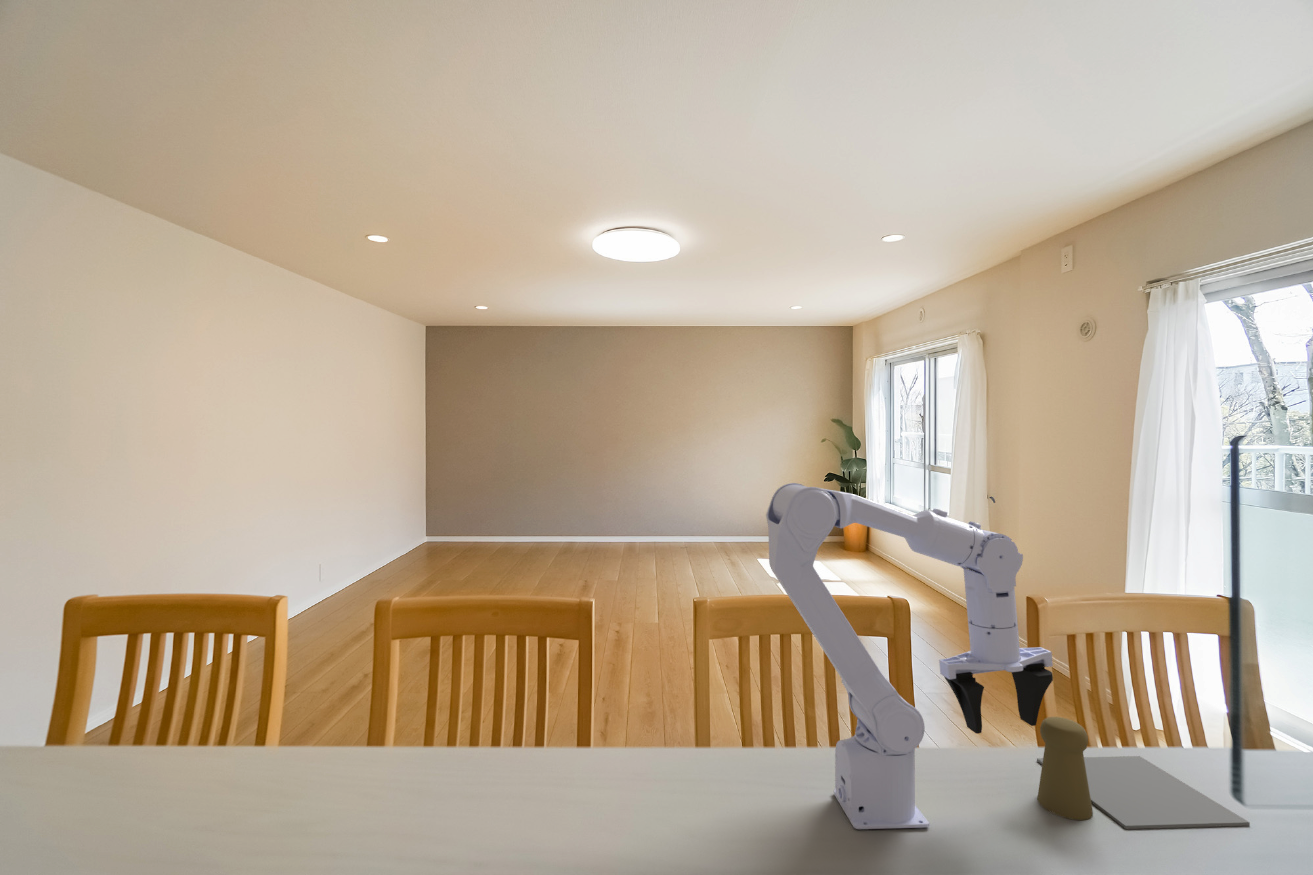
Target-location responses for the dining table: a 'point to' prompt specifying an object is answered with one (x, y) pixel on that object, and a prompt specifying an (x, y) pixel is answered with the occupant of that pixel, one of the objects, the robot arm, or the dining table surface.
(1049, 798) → the cork
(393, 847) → the dining table surface
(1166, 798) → the mat
